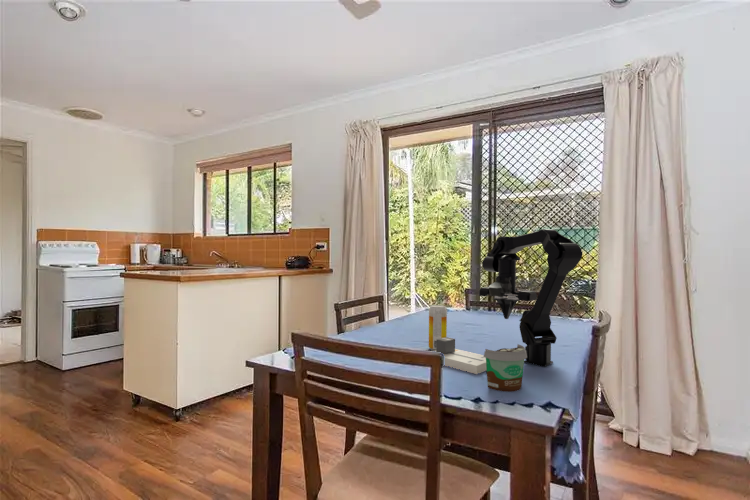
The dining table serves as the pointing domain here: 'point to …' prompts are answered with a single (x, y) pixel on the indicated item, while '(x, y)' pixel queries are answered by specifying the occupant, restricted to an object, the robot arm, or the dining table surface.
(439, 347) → the fader cap
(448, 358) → the fader console
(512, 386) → the food container
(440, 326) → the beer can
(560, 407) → the dining table surface
